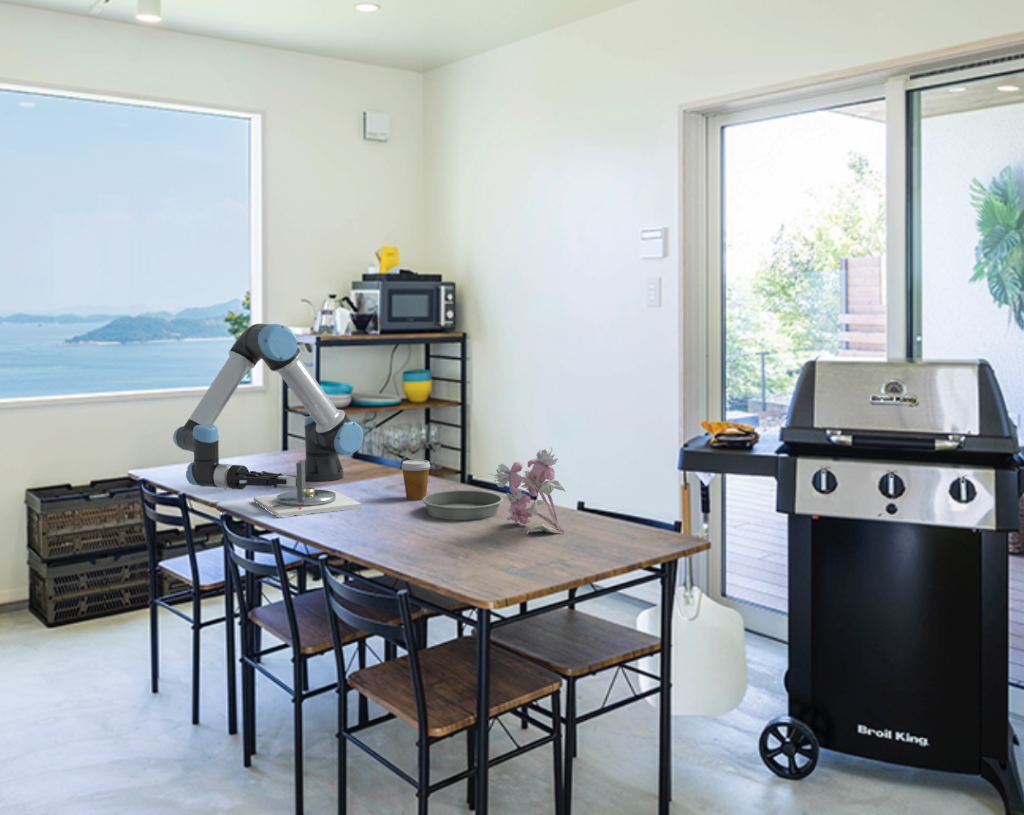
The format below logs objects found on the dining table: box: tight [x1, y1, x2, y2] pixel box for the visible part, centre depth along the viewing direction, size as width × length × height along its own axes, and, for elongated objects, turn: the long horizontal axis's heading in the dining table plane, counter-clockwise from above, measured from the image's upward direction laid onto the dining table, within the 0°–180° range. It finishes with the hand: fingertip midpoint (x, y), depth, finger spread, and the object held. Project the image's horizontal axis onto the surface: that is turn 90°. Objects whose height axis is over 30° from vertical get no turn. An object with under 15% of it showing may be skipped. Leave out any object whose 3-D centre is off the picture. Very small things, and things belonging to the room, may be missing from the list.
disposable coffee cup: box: [400, 459, 431, 501], centre depth 305 cm, size 10×10×12 cm
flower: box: [489, 447, 566, 535], centre depth 264 cm, size 20×22×25 cm
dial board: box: [253, 489, 362, 518], centre depth 295 cm, size 26×26×2 cm
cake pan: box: [421, 489, 504, 521], centre depth 286 cm, size 25×25×4 cm
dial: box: [277, 459, 336, 506], centre depth 293 cm, size 20×18×13 cm
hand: (297, 481), depth 286 cm, fingers closed
